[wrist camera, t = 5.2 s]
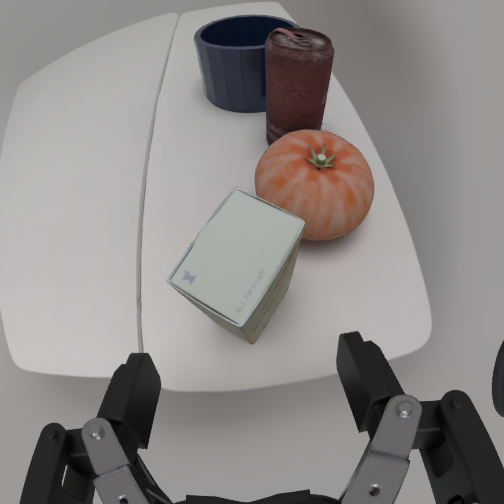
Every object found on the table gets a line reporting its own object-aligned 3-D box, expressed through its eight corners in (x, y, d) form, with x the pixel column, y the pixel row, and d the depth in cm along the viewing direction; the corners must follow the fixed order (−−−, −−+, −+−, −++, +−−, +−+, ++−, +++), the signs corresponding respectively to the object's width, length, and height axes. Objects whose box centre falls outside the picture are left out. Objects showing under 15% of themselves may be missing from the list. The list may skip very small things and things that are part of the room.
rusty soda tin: (283, 116, 32) (286, 20, 19) (326, 138, 31) (346, 38, 18) (254, 142, 31) (247, 37, 18) (300, 167, 29) (314, 56, 16)
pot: (274, 59, 38) (274, 11, 29) (314, 101, 33) (322, 41, 24) (197, 77, 37) (185, 26, 28) (220, 123, 32) (208, 59, 23)
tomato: (310, 277, 25) (328, 243, 17) (234, 200, 28) (224, 148, 20) (379, 210, 27) (409, 164, 19) (307, 149, 30) (315, 96, 23)
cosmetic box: (253, 345, 23) (241, 336, 11) (210, 318, 24) (160, 283, 12) (290, 284, 24) (311, 221, 13) (248, 260, 25) (234, 183, 14)
